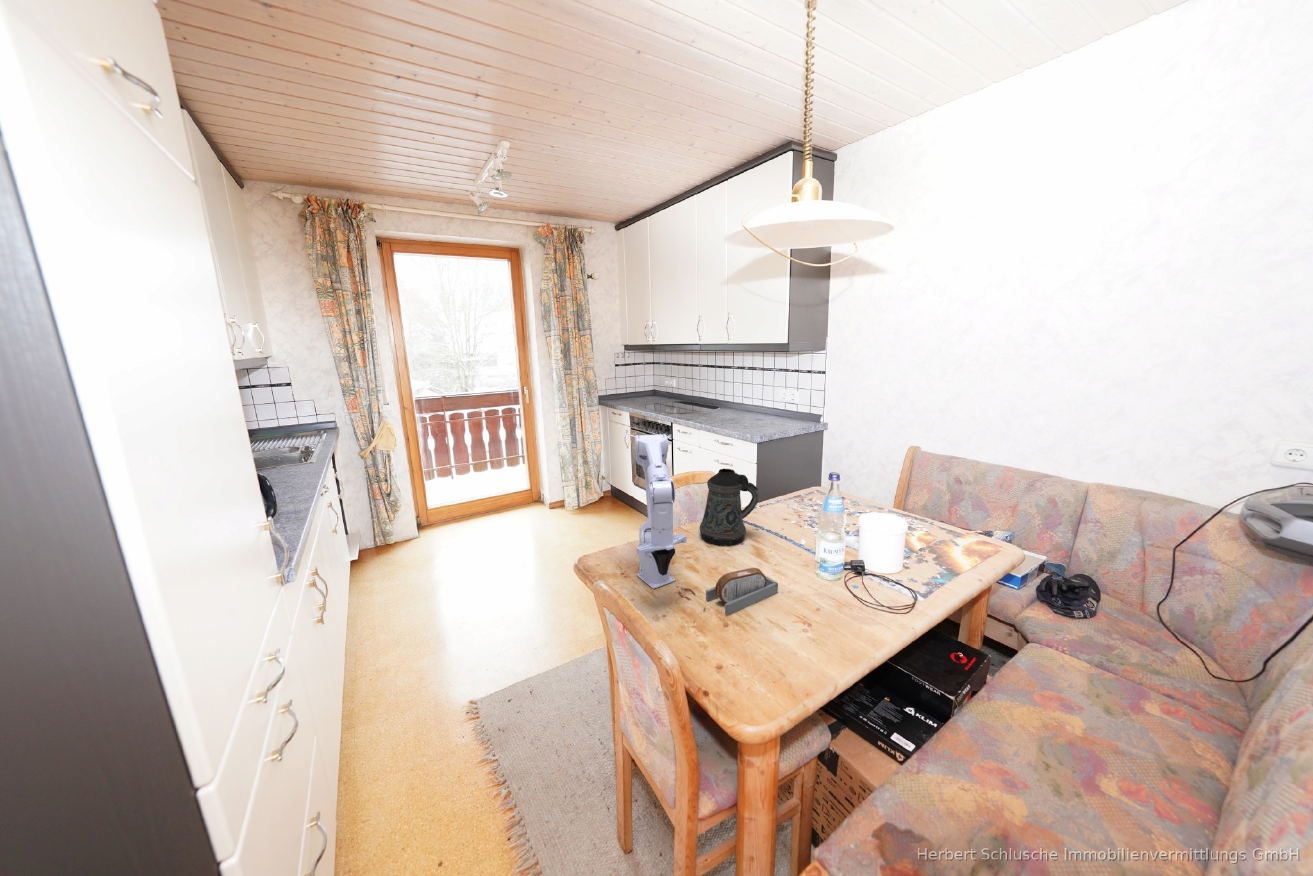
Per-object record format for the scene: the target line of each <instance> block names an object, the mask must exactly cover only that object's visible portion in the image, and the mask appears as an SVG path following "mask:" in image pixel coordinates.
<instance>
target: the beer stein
mask: <svg viewBox="0 0 1313 876" xmlns="http://www.w3.org/2000/svg"><path fill="white" fill-rule="evenodd" d="M706 485H707V488H708V490H707V491H708V492H707V496H706V497H707V499H706V503H705V508H704V509H705V510H704V514H703V518H702V520H701V523H700V524H699V532H700V533H699V534H700V538H701V540H702V541H703V542H705V543H707V544H709V545H713V546H716V547H732V546H738V545H740V544H742V543H743V542H744V540H745V536H746V532H747V529H746V528H747V527H746V526H745V523H744V519H745V518H746V517H747V516H749V515H750V513H752V511H754V510H755V508H756V506H757V504H758V501H759V497H760V495H759V490H758V489H759V488H758V487H757V485H755V484H754V483H752V482H749V479H748V477H747V476H746V475H745V474H738V473H737V472H736V471H735V470H734V469H732V468H721V469H719V470H718V472H717V473H715V474H714V475H713V476H711V477H710V478H709V479H708V480H707V481H706ZM741 492H749V493H750V494H751V500H750V502H748V505H746V507H744V508H743V509H742V499H741Z"/></svg>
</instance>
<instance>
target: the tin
mask: <svg viewBox="0 0 1313 876" xmlns="http://www.w3.org/2000/svg"><path fill="white" fill-rule="evenodd" d="M766 577H767V576H766V575H765V574H764V573H763V572H762V570H760V568H758V567H749V568H745V569H740V570H736V571H730V572H727V573H724V574H723V575H722V576H721V577H720V578H718V580H717V582H716V584H715V586H714V587H715V593H716V595H717V596H718V599H719V600H720V601H721V602H723V603H724V604H726V603H728V602H731V601H733V600H735V599H738V598H740V597H742V596H745V595H747V594H749V593H752V592H754V591H756V590H758V589H761V588H763V587H765V586H766V582H767V580H766Z"/></svg>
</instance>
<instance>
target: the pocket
mask: <svg viewBox="0 0 1313 876" xmlns="http://www.w3.org/2000/svg"><path fill="white" fill-rule="evenodd" d="M766 580H767V582H766V586H765V587H763V588H761V589H758V590H756V591H754V592H752V593H749V594H747V595H745V596H742V597H740V598H738V599H735V600H733V601H731V602H728V603H724V615H725V616H730V615H732V614H734V613H735V612H738V611H741V610H742V609H746V608H747V607H749V606H752V605H753V604H757V603H758V602H761V601H763V600H765V599H767V598H769V597H771V596H774V595H776V594H778V591H779V583H778V582H777V581H775V580H773V579H771V578H769V577H768V576H766ZM715 587H716V586H714V587H711V588H708V589H706V590H705V601H706V602H710V601H712V600H715V599H719V597H718V596H717V595H716V593H715Z"/></svg>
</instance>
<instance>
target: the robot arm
mask: <svg viewBox="0 0 1313 876" xmlns="http://www.w3.org/2000/svg"><path fill="white" fill-rule="evenodd" d="M668 439H669V438H668V436H667V435H666V433H662V434H643V435H641V434H636V435H635V436H634V454H635V461H636V464H637V465H639V466H641V467H642V469H643V472H644V473H643V474H644V481H645V495H646V496H645V498H646V511H647V520H645V521H644V522H643V523H642V524H641V525H640V527H639V533H638V534H639V535H638V536H639V546H637V547H636V555H638V564H639V567H638V568H639V573H636V576H637V577H638V578H639V579H640V580H641V581H643V582H644V583H645V584H647V585H648V586H649V587H650V588H652V589H657V588H661V587H663V586H665V585H669V584H671V583H673V582H676V578H674V577H673V576H672V575H671V574H670V564H671V561H672V559H673V558H674V555H675V554H676V548H675V546H676V545H678V544H679V545H680V544H681V543H683V544H687V541H688V540H687V539H688V538H687V537H688V536H687V535H686V534H684V533H680V534H679V533H678V534H674V503H675V501H676V487H675V483H674V480H673V479H672V478H671V477H670V473H669V468H668V466H667V464H666V463H667V462H666V461H667V458H668V452H669V440H668Z"/></svg>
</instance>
